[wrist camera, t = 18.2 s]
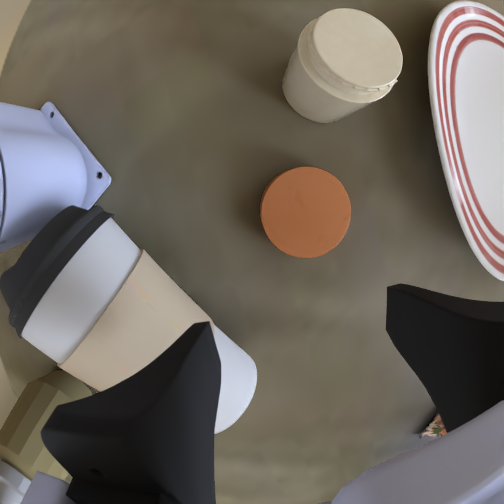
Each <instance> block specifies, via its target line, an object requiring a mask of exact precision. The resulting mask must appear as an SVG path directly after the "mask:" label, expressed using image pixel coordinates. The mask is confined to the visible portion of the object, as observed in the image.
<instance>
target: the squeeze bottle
mask: <svg viewBox="0 0 504 504" xmlns="http://www.w3.org/2000/svg"><path fill="white" fill-rule="evenodd" d="M91 395H93V394H92V392H91V390H90V389H89V388H88V387H87V386H86V385H85V384H84V383H83V382H82V381H81V380H79V379H78V378H76V377H74V376H73V375H71V374H69V373H68V372H66V371H60V370H56V371H54V372H52V373H50V374H47V375H45V376H43V377H41V378H39V379H37V380H35V381H33V382H31V383H29V384H27V386H26V388H25V389H24V391H23V392H22V394H21V396H20V397H19V399H18V401H17V402H16V404H15V406H14V407H13V409H12V411H11V412H10V414H9V416H8V418H7V420H6V421H5V423H4V425H3V427H2V429H1V430H0V504H21V502H22V500H23V498H24V495H25V493H26V491H27V489H28V487H29V485H30V484H31V482H32V480H33V478H34V476H35V474H36V472H37V471H40V472H43V473H45V474H48V475H51V476H54V477H57V478H59V479H62V480H65V478H66V476H67V475H68V472H67V471H66V470H65V469H64V468H63V467H62V466H61V465H60V463H59V462H58V461H57V460H56V459H55V458H54V457H53V456H52V455H51V454H50V452H49V451H48V450H47V448H46V447H45V445H44V443H43V441H42V439H41V433H40V432H41V430H42V428H43V427H44V425H45V423H46V422H47V420H48V419H49V417H50V415H51V414H52V412H53V411H54V409H55V408H56V406H57V405H60V404H65V403H68V402H72V401H75V400H79V399H82V398H85V397H88V396H91Z"/></svg>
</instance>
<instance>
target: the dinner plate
mask: <svg viewBox="0 0 504 504" xmlns="http://www.w3.org/2000/svg"><path fill="white" fill-rule="evenodd" d="M428 84H429V95H430V103H431V111H432V117H433V124H434V130H435V136H436V141H437V145H438V150H439V154H440V159H441V163H442V168H443V172H444V175H445V179H446V182H447V186H448V190H449V194H450V197H451V200H452V203H453V206H454V209H455V212H456V215H457V217H458V220H459V222H460V225H461V228H462V230H463V232H464V234H465V236H466V239H467V241H468V243H469V245H470V247H471V249H472V250H473V252H474V254H475V255H476V257H477V258H478V260H479V261H480V263H481V264H482V265H483V266H484V267H485V268H486V270H487V271H488V272H489V273H491V274H492V275H493V276H495V277H496V278H498V279H499V280H502V281H504V17H503V16H502V15H501V14H499V13H498V12H496V11H495V10H493V9H491V8H489V7H488V6H486V5H483V4H481V3H478V2H474V1H468V0H460V1H455V2H452V3H450V4H448V5H446V6H445V7H444V8H443V9H442V10H441V11H440V12H439V14H438V15H437V17H436V19H435V21H434V23H433V26H432V30H431V34H430V40H429V49H428Z"/></svg>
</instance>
